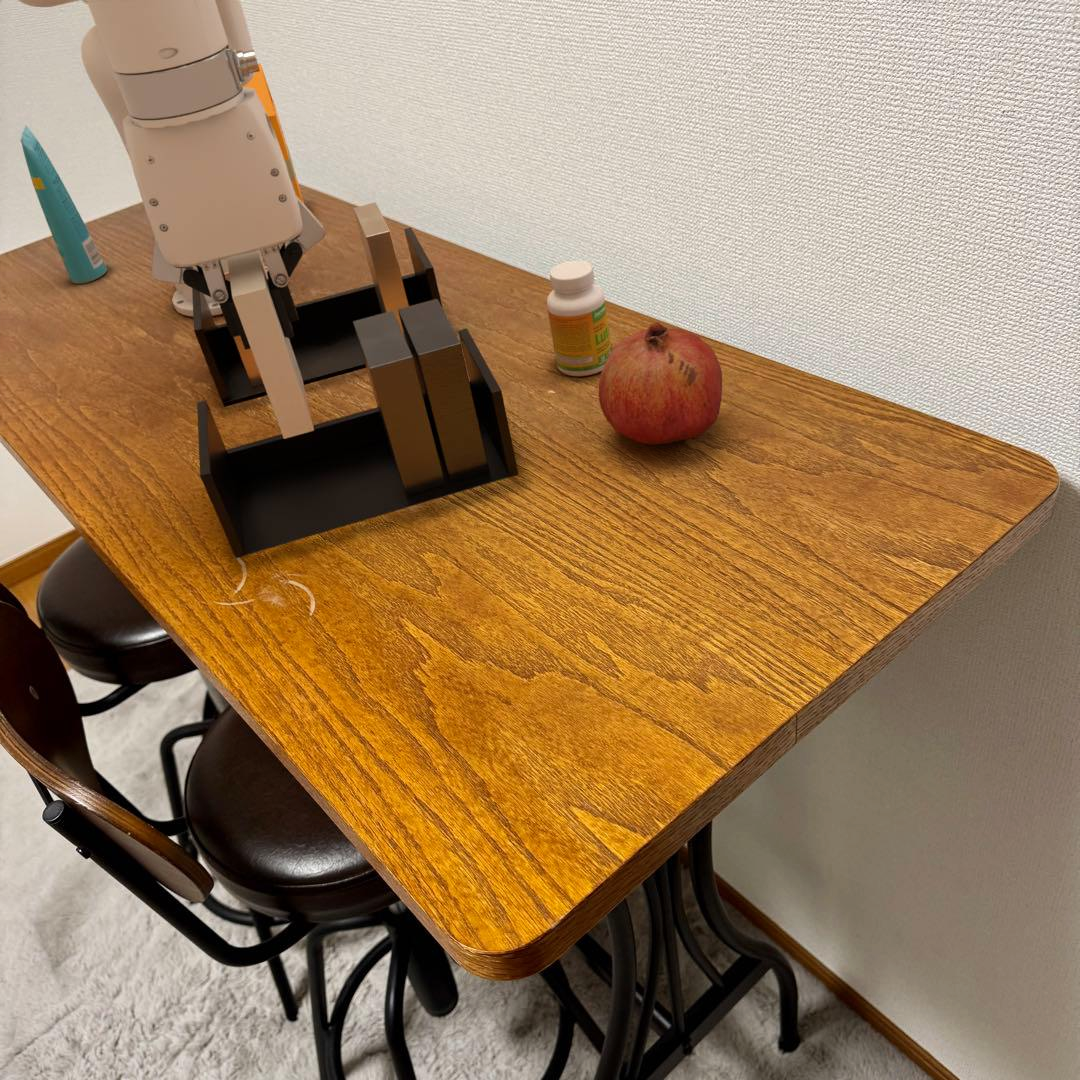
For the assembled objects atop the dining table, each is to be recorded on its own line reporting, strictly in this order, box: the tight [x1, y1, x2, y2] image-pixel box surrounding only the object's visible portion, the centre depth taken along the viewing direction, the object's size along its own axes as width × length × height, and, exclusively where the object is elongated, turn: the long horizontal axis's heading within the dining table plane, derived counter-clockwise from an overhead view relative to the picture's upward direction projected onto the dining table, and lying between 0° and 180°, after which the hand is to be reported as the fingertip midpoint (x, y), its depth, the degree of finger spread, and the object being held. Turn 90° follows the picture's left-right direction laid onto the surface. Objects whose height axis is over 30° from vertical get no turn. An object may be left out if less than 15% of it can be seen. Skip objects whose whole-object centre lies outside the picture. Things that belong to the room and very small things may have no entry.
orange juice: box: [242, 62, 305, 204], centre depth 141 cm, size 8×9×20 cm
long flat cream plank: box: [227, 250, 314, 439], centre depth 80 cm, size 2×9×12 cm, turn 16°
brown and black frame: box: [192, 202, 444, 408], centre depth 107 cm, size 24×12×13 cm, turn 106°
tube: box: [19, 125, 108, 284], centre depth 135 cm, size 7×5×19 cm, turn 23°
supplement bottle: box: [546, 260, 612, 377], centre depth 98 cm, size 5×5×10 cm
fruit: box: [598, 321, 723, 445], centre depth 86 cm, size 11×10×10 cm
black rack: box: [196, 299, 519, 559], centre depth 86 cm, size 24×12×13 cm, turn 106°
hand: (267, 334), depth 80 cm, fingers closed on long flat cream plank, 2 cm apart
